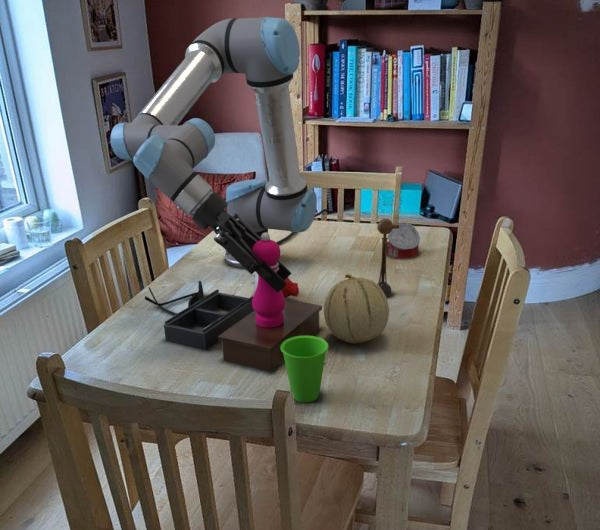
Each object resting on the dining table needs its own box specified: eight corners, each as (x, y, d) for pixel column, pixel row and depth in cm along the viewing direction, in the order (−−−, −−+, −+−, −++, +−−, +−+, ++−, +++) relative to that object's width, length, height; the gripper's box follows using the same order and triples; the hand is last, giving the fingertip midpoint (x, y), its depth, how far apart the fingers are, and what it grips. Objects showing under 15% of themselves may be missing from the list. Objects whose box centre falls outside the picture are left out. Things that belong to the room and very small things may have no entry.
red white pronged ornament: (254, 286, 174) (306, 298, 171) (237, 302, 165) (292, 315, 161) (256, 255, 169) (309, 267, 166) (239, 269, 160) (295, 282, 156)
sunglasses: (155, 295, 172) (152, 277, 170) (208, 294, 171) (206, 277, 169) (139, 321, 158) (135, 302, 155) (196, 321, 157) (194, 302, 154)
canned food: (414, 264, 200) (432, 238, 194) (401, 271, 193) (419, 244, 186) (387, 243, 203) (404, 216, 197) (373, 248, 195) (390, 221, 189)
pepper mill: (282, 330, 137) (278, 238, 127) (249, 327, 139) (243, 237, 128) (289, 316, 143) (286, 228, 133) (258, 314, 145) (252, 226, 134)
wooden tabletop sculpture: (394, 290, 170) (398, 215, 160) (396, 297, 166) (400, 221, 156) (372, 291, 170) (374, 216, 160) (373, 298, 166) (376, 221, 156)
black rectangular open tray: (218, 306, 164) (217, 288, 162) (256, 314, 160) (255, 295, 157) (165, 340, 148) (162, 321, 145) (206, 350, 143) (204, 330, 141)
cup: (281, 385, 129) (278, 336, 123) (325, 382, 129) (325, 334, 124) (284, 409, 121) (281, 358, 115) (331, 406, 122) (331, 355, 116)
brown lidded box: (274, 319, 157) (273, 296, 153) (322, 328, 151) (322, 305, 148) (220, 361, 139) (217, 336, 135) (272, 373, 133) (270, 347, 130)
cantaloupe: (370, 360, 137) (372, 295, 129) (311, 345, 144) (310, 282, 136) (398, 334, 148) (402, 272, 140) (343, 321, 155) (343, 261, 147)
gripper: (202, 205, 139) (280, 278, 145) (177, 230, 123) (265, 311, 130) (224, 180, 135) (302, 256, 142) (201, 202, 120) (290, 287, 126)
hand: (284, 282), depth 136 cm, fingers closed on pepper mill, 5 cm apart
